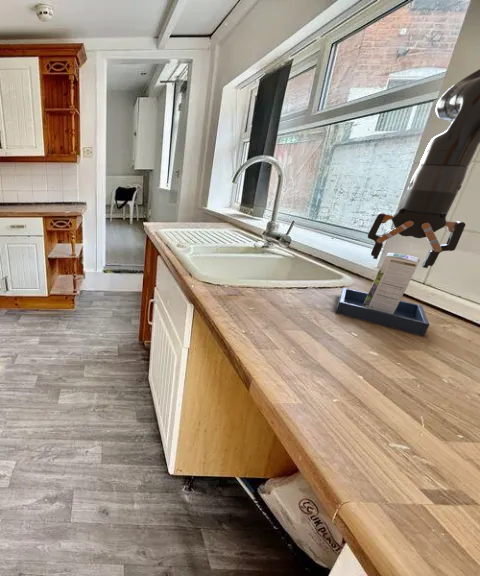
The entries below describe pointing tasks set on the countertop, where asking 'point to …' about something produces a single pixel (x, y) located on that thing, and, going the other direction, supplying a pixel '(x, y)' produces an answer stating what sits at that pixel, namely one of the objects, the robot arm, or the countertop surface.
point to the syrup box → (391, 282)
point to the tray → (383, 313)
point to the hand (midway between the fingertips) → (398, 262)
